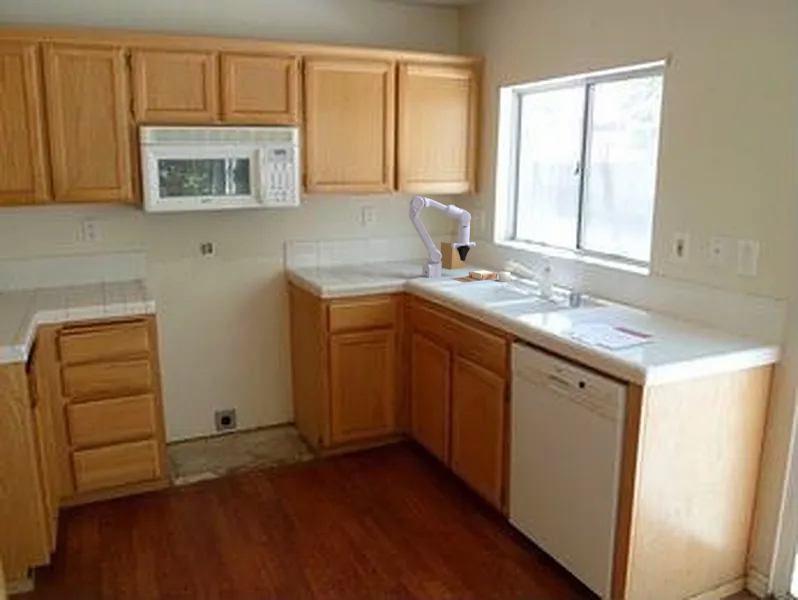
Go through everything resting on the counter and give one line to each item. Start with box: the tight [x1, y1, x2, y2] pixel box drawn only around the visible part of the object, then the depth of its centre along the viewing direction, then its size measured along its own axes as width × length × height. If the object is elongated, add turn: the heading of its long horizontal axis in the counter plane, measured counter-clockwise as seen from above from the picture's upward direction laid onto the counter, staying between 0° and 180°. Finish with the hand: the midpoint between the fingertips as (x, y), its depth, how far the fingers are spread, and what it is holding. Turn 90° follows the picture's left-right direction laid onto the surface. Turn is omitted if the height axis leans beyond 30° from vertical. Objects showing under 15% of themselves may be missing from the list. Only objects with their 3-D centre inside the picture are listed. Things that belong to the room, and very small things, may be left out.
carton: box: [471, 269, 494, 279], centre depth 350 cm, size 8×7×3 cm
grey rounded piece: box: [497, 270, 511, 286], centre depth 342 cm, size 6×6×6 cm
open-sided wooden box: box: [449, 271, 499, 283], centre depth 347 cm, size 22×12×4 cm, turn 124°
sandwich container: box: [440, 241, 468, 270], centre depth 388 cm, size 9×15×15 cm, turn 139°
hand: (462, 260), depth 350 cm, fingers closed
